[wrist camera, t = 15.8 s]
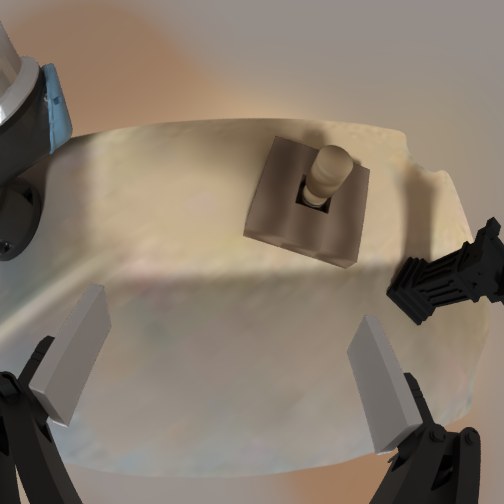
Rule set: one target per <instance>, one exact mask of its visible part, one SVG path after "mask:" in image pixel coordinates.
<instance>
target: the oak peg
mask: <svg viewBox="0 0 504 504" xmlns="http://www.w3.org/2000/svg"><path fill="white" fill-rule="evenodd" d="M352 168H353V161H352V158H351V156H350V155H349V154H348V153H347V152H346V151H345V150H344V149H342V148H341V147H338V146H335V145H327V146H325V147H323V148H322V149H321V150H320V151H319V153H318V155H317V157H316V159H315V161H314V163H313V165H312V167H311V169H310V171H309V173H308V175H307V177H306V185H305V186H304V188H303V191H302V193H301V195H300V202H299V204H300V205H303V206H306V207H309V208H312V209H315V210H319V209H320V208H321V207H322V205H323V204H324V203H325V202H326V200H327V198H330V197H332V196H333V195H334V194H335V192H336V191H337V190H338V188H339V187H340V186H341V184H342V183H343V182H344V180H345V179H346V177H347V176H348V175H349V173H350V172H351V171H352Z"/></svg>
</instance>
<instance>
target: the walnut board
mask: <svg viewBox="0 0 504 504" xmlns="http://www.w3.org/2000/svg"><path fill="white" fill-rule="evenodd" d="M319 151H320V150H317V149H314V148H312V147H309V146H306V145H303V144H300V143H297V142H294V141H291V140H288V139H284V138H281V137H278V136H275V139H274V142H273V145H272V148H271V151H270V154H269V157H268V160H267V163H266V165H265V168H264V171H263V174H262V177H261V180H260V183H259V186H258V189H257V192H256V195H255V198H254V201H253V204H252V207H251V210H250V213H249V216H248V219H247V222H246V224H245V229H244V234H243V236H246V237H249V238H252V239H255V240H258V241H262V242H265V243H268V244H271V245H274V246H277V247H280V248H283V249H287V250H290V251H293V252H296V253H299V254H302V255H305V256H308V257H311V258H314V259H318V260H321V261H324V262H327V263H330V264H333V265H336V266H339V267H342V268H345V269H346V268H348V267H349V266H351V265H353V264H354V263H356V262H357V259H358V253H359V247H360V241H361V235H362V229H363V222H364V215H365V208H366V200H367V192H368V183H369V174H370V170H369V169H367V168H365V167H362V166H360V165H357V164H355V163H353V168H352V171H351V172H350V173H349V175H348V176H347V177H346V179H345V180H344V182H343V183H342V184H341V186H340V187H339V188H338V190H337V191H336V192H335V194H334V195H333V196H332V197H330V198H327V200H326V202H325V203H324V208H323V212H321V211H318V210H315V209H312V208H309V207H306V206H303V205H300V204H297V203H295V200H296V197H297V193H298V189H299V188H301V189H303V188H304V186H305V185H306V177H307V175H308V173H309V171H310V169H311V167H312V165H313V163H314V161H315V159H316V157H317V155H318V153H319Z"/></svg>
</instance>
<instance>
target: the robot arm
mask: <svg viewBox="0 0 504 504" xmlns="http://www.w3.org/2000/svg"><path fill="white" fill-rule="evenodd" d="M71 135H72V124H71V121H70V117H69V113H68V110H67V106H66V102H65V99H64V96H63V92H62V88H61V85H60V82H59V78H58V75H57V71H56V68H55V66H54V64H52V63H50V64H48V65H44V66H42V68H40V66H39V64H38V62H37V61H36V60H35V59H34V58H33V57H29V56H22V57H19V55H18V54H17V52H16V50H15V48H14V47H13V44H12V43H11V41H10V39H9V37H8V35H7V33H6V31H5V29H4V28H3V25H2V24H1V22H0V261H8V260H11V259H13V258H15V257H16V256H18V255H19V254H20V253H21V252H22V251H23V250H24V249H25V248H26V247H27V245H28V244H29V243H30V241H31V239H32V238H33V236H34V234H35V231H36V229H37V226H38V223H39V219H40V213H41V201H40V197H39V194H38V192H37V190H36V189H35V188H34V187H33V186H32V185H31V184H30V183H29V182H28V181H27V180H25V179H23V178H19V177H17V176H18V175H20V174H21V173H22V172H24V171H25V170H27V169H28V168H30V167H31V166H33V165H34V164H36V163H37V162H39V161H40V160H42V159H43V158H45V157H47V156H48V155H51V154H52V153H53V152H54V151H55V150H56V149H57V148H59V147H60V146H62V145H63V144H64V143H66V142H67V141H68V140H69V139H70V137H71ZM110 329H111V321H110V316H109V311H108V306H107V300H106V295H105V289H104V286H103V285H97V284H92V283H91V284H90V285H89V287H88V288H87V290H86V291H85V293H84V294H83V296H82V297H81V298H80V300H79V301H78V303H77V304H76V306H75V307H74V309H73V311H72V312H71V314H70V315H69V317H68V318H67V320H66V321H65V323H64V325H63V326H62V328H61V329H60V331H59V333H58V334H57V336H56V337H51V336H46V337H45V338H44V339H43V340H41V341H40V342H39V344H38V345H37V347H36V349H35V350H34V352H33V354H32V355H31V358H30V359H29V360H28V362H27V364H26V365H25V367H24V369H23V371H22V372H21V374H20V376H19V378H18V380H17V379H16V377H15V376H14V375H13V374H12V373H10V372H7V371H4V372H0V504H21V502H20V497H19V490H18V484H17V477H16V468H17V471H18V474H19V477H20V480H21V483H22V485H23V488H24V490H25V493H26V496H27V498H28V500H29V503H30V504H83V503H82V501H81V499H80V498H79V496H78V494H77V492H76V490H75V488H74V486H73V484H72V482H71V480H70V478H69V475H68V473H67V471H66V469H65V467H64V464H63V462H62V460H61V457H60V455H59V452H58V450H57V447H56V445H55V442H54V440H53V437H52V434H51V431H50V429H49V426H48V424H47V422H46V421H47V418H48V416H49V417H50V418H51V419H52V421H53V422H55V423H57V424H60V425H62V426H65V427H68V426H69V423H70V421H71V418H72V415H73V413H74V410H75V408H76V405H77V403H78V400H79V398H80V395H81V393H82V390H83V388H84V386H85V383H86V381H87V379H88V376H89V374H90V372H91V369H92V367H93V365H94V363H95V360H96V358H97V356H98V354H99V352H100V350H101V347H102V345H103V343H104V341H105V339H106V337H107V335H108V333H109V331H110ZM347 354H348V357H349V360H350V363H351V366H352V370H353V373H354V376H355V380H356V383H357V386H358V390H359V393H360V397H361V400H362V404H363V407H364V411H365V414H366V418H367V422H368V425H369V429H370V433H371V437H372V441H373V444H374V448H375V452H376V455H379V454H384V453H390V452H391V451H393V450H394V449H395V448H396V447H397V448H398V451H399V452H398V453H397V454H395V455H394V456H393V457H392V458H391V459H389V461H388V463H390V462H391V461H392V464H391V465H390V467H389V469H388V471H387V473H386V475H385V477H384V479H383V481H382V482H381V484H380V486H379V488H378V490H377V491H376V493H375V495H374V496H373V498H372V500H371V501H370V503H369V504H478V497H479V485H480V463H481V456H480V455H481V450H480V449H481V448H480V447H481V446H480V445H481V443H480V436H479V434H478V432H477V431H476V430H475V429H474V428H472V427H466V428H464V429H463V430H462V431H461V432H460V433H456V432H447V431H446V430H445V429H444V427H442V426H441V425H439V424H436V423H434V421H433V418H432V416H431V413H430V411H429V408H428V406H427V404H426V401H425V399H424V398H423V394H422V392H421V391H420V387H419V385H418V383H417V380H416V379H415V378H414V377H413V376H412V375H411V374H410V373H403V372H402V369H401V367H400V365H399V362H398V360H397V358H396V356H395V353H394V351H393V349H392V347H391V345H390V342H389V340H388V338H387V336H386V334H385V332H384V330H383V327H382V325H381V323H380V321H379V319H378V317H377V316H370V315H364V317H363V319H362V322H361V324H360V326H359V328H358V330H357V332H356V334H355V336H354V338H353V340H352V342H351V344H350V346H349V348H348V350H347ZM15 465H16V468H15Z"/></svg>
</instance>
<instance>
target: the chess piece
mask: <svg viewBox="0 0 504 504" xmlns="http://www.w3.org/2000/svg"><path fill="white" fill-rule="evenodd" d="M500 228H501V226H500V224H499V223H498V222H497V220H496V219H495V218H494V217H492V218H491V219H489V220H487V223H486V226H485V227H484V228H482V229H480V230H478V233H477V236H476V238H475V241H474V243H472V244H470V243H469V242H468V241H466V242H464V243H463V246H462V248H461V249H459V250H457V251H455V252H453V253H450V254H448V255H446V256H444V257H442V258H440V259H437V260H435V261H433V262H431V263H427V262H426V261H425V260H424V259H423V258H422V259H420V260H419V259H418V258H415V259H413V258H412V257H409V258H408V260H407V261H406V263H405V265H404V266H403V268H402V270H401V271H400V273H399V275H398V276H397V278H396V280H395V281H394V283H393V285H392V286H391V288H390V289H389V291H388V292H387V294H386V295H387V296H388V297H389V298H390V299H391V300H392V301H393V302H394V303H395V304H396V305H397V306H398V307H399V308H400V309H401V310H402V311H404V312H405V313H406V314H407V315H408V316H409V317H410V318H411V319H412V320H413V321H414V322H415V323H416V324H417V325H421V323H422V321H426V319H427V317H429V316H432V314H433V312H434V310H435V308H436V307H440V306H445V305H449V304H453V303H457V302H461V301H465V300H469V299H471V300H472V301H473V302H474V303H475V302H478V301H479V298H480V297H481V296H485V295H486V296H487V298H488V299H489V300H490V302H491V303H494V302H499V301H501V302H502V303H503V305H504V244H503V243H502V242H501V240H500V239H499V238H498V235H499V231H500Z"/></svg>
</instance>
